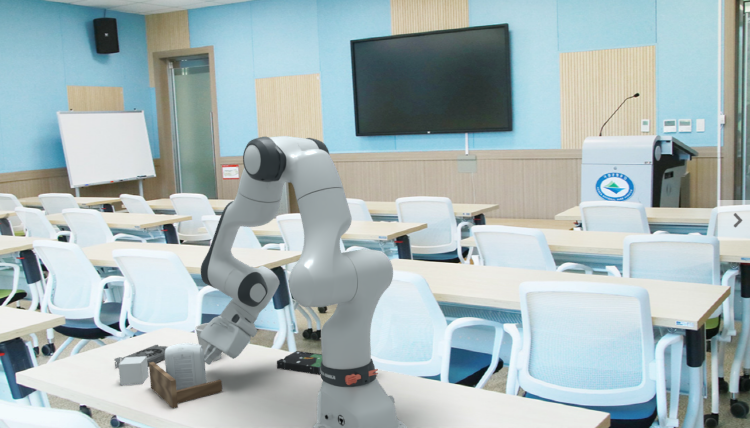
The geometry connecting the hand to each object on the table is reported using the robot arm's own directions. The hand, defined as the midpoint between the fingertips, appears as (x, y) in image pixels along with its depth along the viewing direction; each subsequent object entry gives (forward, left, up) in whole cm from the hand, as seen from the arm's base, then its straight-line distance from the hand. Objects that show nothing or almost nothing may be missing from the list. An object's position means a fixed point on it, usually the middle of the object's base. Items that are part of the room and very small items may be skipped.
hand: (204, 362), depth 179 cm
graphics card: (+31, +6, -7) cm, 32 cm away
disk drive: (-5, -28, -7) cm, 30 cm away
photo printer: (0, +5, -6) cm, 8 cm away
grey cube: (+17, +14, -7) cm, 23 cm away
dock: (-1, +5, -6) cm, 8 cm away
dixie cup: (+21, -10, -7) cm, 24 cm away
